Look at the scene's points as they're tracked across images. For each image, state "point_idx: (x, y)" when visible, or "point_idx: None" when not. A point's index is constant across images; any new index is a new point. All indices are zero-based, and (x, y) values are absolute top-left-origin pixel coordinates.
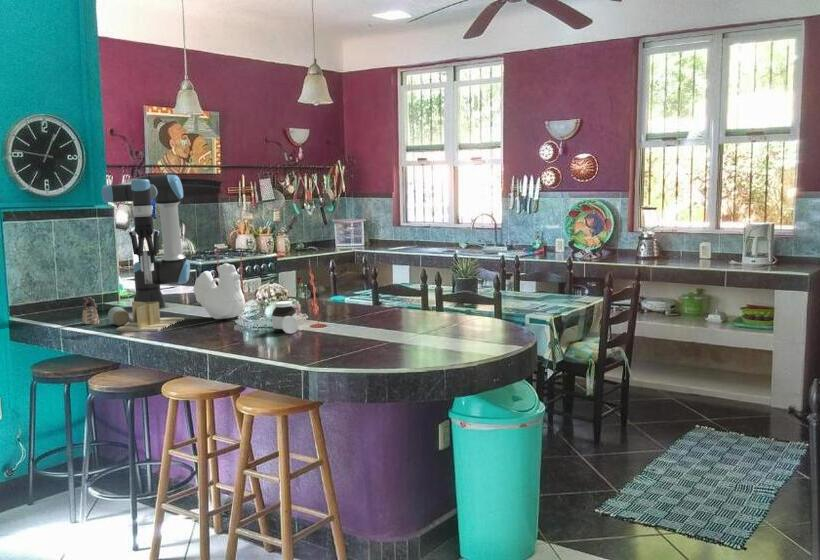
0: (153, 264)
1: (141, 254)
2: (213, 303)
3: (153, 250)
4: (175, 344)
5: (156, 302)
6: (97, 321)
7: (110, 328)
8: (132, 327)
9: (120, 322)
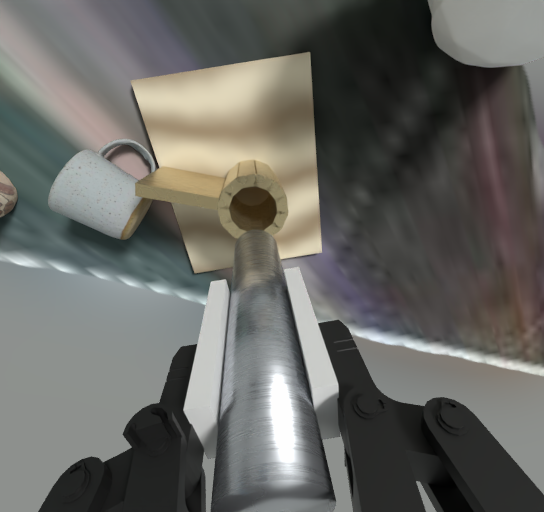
0: (309, 299)
1: (195, 461)
2: (505, 48)
3: (409, 486)
4: (426, 343)
5: (275, 198)
6: (9, 189)
7: (144, 244)
8: (232, 252)
9: (143, 215)
